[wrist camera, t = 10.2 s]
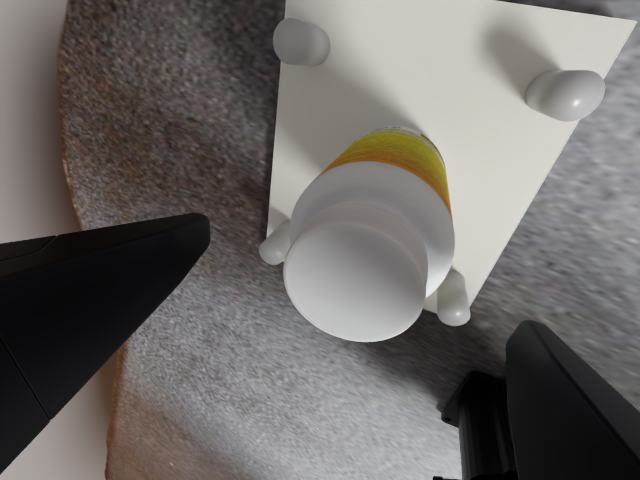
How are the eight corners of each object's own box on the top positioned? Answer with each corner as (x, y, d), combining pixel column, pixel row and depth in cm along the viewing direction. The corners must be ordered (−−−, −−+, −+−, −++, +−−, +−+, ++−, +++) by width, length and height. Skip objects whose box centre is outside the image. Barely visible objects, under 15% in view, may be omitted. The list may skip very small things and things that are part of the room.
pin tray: (459, 309, 21) (465, 358, 17) (272, 247, 23) (243, 279, 20) (620, 25, 12) (696, 7, 9) (298, -24, 15) (256, -53, 11)
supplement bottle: (338, 126, 16) (236, 189, 8) (450, 120, 14) (478, 190, 6) (344, 221, 19) (273, 347, 10) (441, 225, 17) (450, 380, 9)
